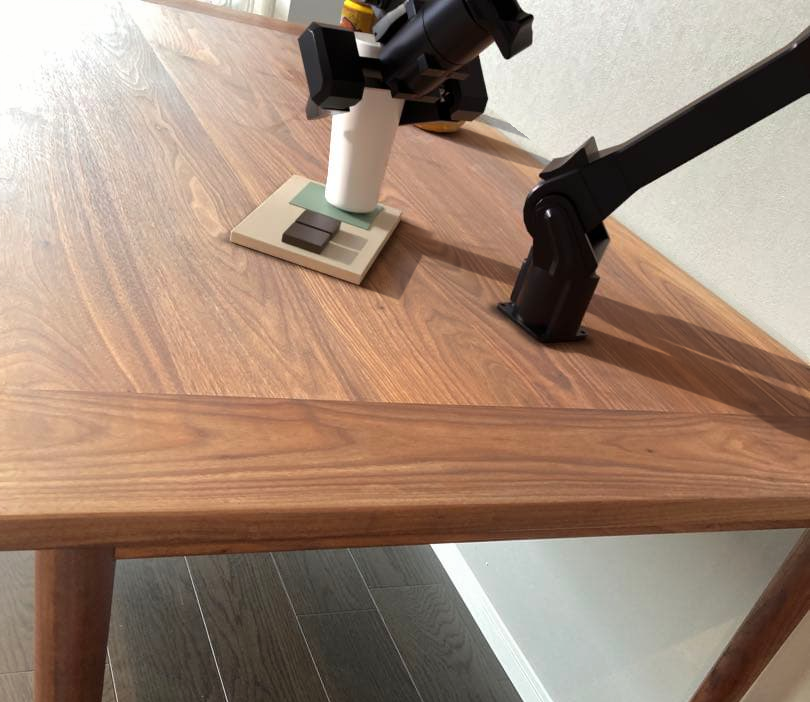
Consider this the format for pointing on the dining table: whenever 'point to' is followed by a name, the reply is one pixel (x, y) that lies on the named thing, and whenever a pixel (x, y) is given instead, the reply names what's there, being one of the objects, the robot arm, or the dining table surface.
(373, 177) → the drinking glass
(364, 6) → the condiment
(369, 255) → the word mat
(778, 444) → the dining table surface
